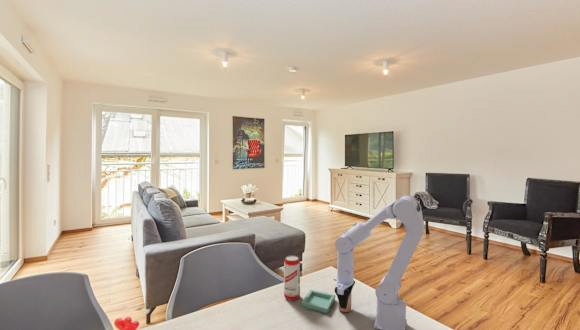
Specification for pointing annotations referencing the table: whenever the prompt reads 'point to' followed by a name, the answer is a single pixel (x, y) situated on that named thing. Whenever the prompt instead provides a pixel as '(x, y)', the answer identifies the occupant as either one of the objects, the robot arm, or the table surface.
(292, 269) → the beer can
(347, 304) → the shaker
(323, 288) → the table surface
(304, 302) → the tray
